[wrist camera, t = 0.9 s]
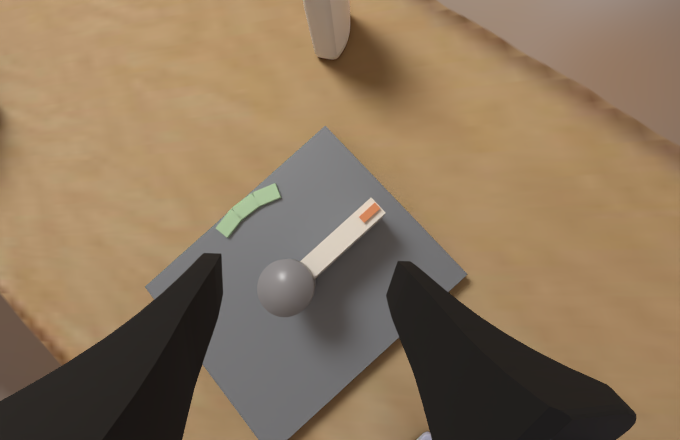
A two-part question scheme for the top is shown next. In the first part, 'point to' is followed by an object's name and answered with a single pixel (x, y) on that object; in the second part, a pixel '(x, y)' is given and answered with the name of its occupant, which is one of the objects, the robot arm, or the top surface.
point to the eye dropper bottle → (328, 26)
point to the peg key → (311, 265)
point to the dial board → (330, 291)
